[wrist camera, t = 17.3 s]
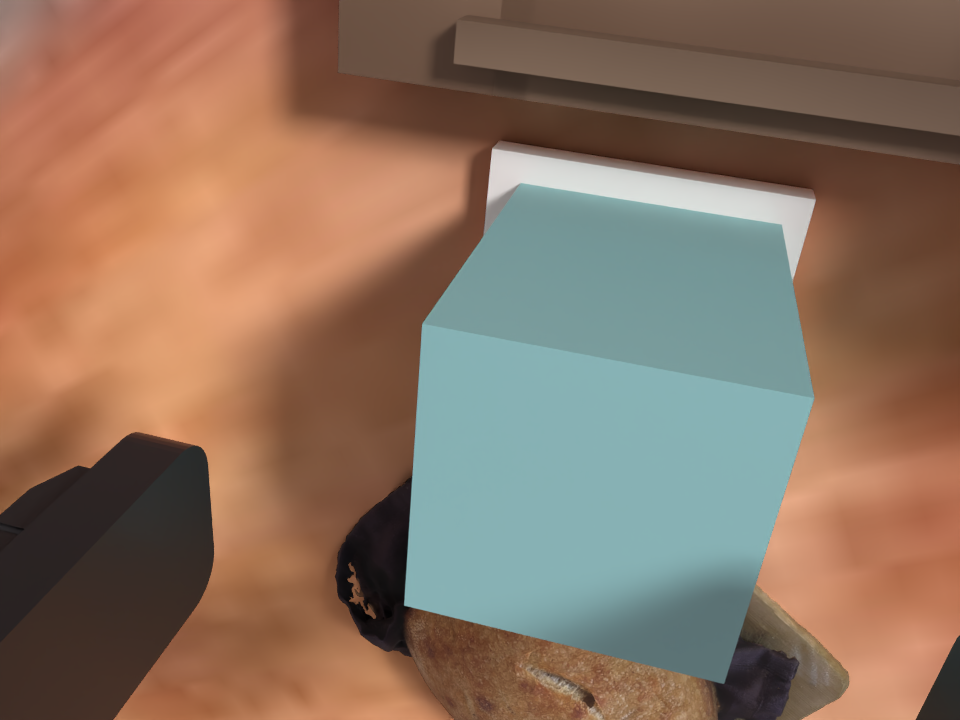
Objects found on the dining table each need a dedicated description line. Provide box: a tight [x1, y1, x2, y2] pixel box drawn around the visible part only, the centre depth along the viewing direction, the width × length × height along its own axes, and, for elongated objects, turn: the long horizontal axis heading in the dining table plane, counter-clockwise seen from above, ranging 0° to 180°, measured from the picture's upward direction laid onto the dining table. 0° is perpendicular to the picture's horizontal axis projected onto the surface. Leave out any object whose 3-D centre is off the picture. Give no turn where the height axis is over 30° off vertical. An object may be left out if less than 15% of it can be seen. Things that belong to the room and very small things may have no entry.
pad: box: [483, 141, 816, 282], centre depth 17 cm, size 6×6×1 cm
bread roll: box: [335, 477, 849, 720], centre depth 20 cm, size 11×8×4 cm
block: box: [404, 183, 814, 684], centre depth 14 cm, size 4×4×6 cm
